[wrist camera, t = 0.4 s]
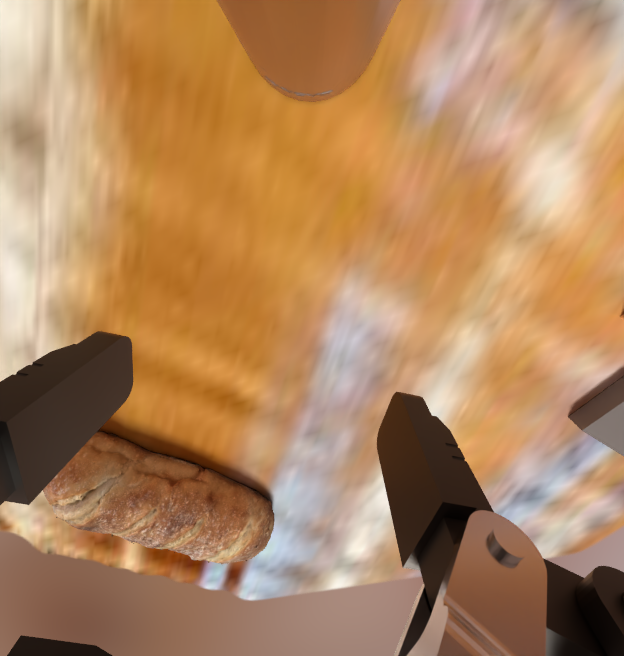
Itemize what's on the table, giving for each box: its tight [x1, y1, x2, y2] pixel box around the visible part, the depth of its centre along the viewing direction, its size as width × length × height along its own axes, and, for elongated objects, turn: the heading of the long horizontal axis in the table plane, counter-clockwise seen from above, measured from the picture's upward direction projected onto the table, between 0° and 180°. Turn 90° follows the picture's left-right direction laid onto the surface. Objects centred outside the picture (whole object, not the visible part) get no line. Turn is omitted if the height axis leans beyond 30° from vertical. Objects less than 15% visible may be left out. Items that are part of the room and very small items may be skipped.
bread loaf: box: [43, 431, 274, 564], centre depth 37 cm, size 35×18×9 cm, turn 67°
